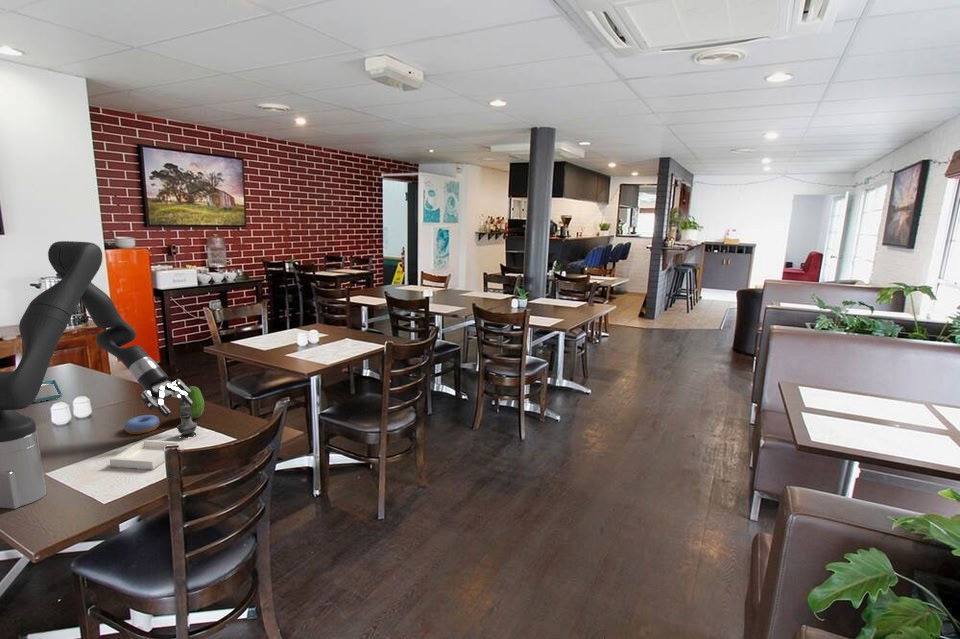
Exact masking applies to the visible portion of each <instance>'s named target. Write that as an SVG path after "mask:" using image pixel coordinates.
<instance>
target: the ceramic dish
mask: <svg viewBox="0 0 960 639" xmlns="http://www.w3.org/2000/svg"><path fill="white" fill-rule="evenodd" d="M184 444H185V443H184V441H172V440H170V441H169V440H157V439H156V440H154V439H152V440H151V439H143V440H142V441H139V442H138V443H136V444H133V446H131V447H129V448H127V449H125V450H123V451H122V452H119V453H118V454H116V455H114V456H113V457H110V458H109V465H110V468H114V467H117V468H118V469H130V468H137V469H136V470H146V469H151V470H150V471H154V470H155V469H157V468H158V467H160V466H161V465H163V464H164V447H165V446H167V445H179V446H180V448H181V449H184V450H185V445H184ZM117 468H116V469H117Z"/></svg>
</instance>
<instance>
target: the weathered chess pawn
mask: <svg viewBox="0 0 960 639" xmlns="http://www.w3.org/2000/svg"><path fill="white" fill-rule="evenodd" d="M183 403H184V404H182V405H181V406H180V410H179V412H180V413H179V417H180V424H178V425H177V426H176V429H177V431H178V432H179V433H180V435H179V436H180V437H181V438H188V437H193V436H194V435H196V433H197V432H196V433H195V431H196V429H197V426H198V423H197V422H194V421H193V419H192V418H191V415H192V413H191V411H190V405H189V404H186V402H185V401H184V402H183ZM193 438H194V437H193Z"/></svg>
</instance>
